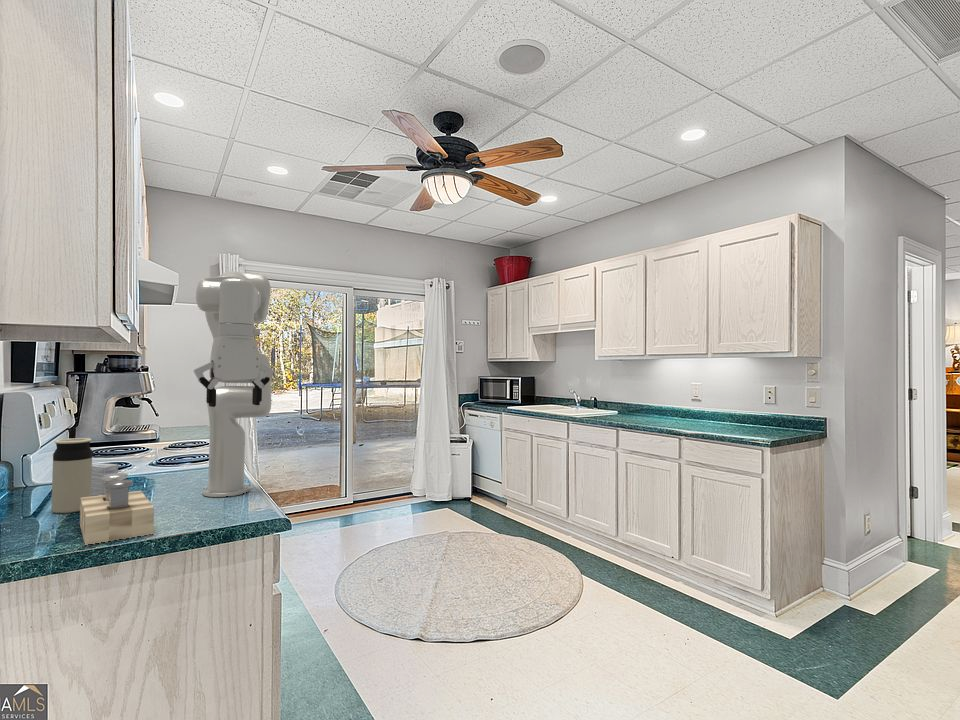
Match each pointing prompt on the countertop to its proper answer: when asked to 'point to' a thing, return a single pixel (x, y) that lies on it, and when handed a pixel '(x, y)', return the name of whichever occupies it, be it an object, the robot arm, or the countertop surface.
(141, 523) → the oak block
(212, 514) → the countertop surface
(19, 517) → the countertop surface
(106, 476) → the steel peg
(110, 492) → the grey piece
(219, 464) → the robot arm
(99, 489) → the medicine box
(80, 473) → the travel mug
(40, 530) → the countertop surface
